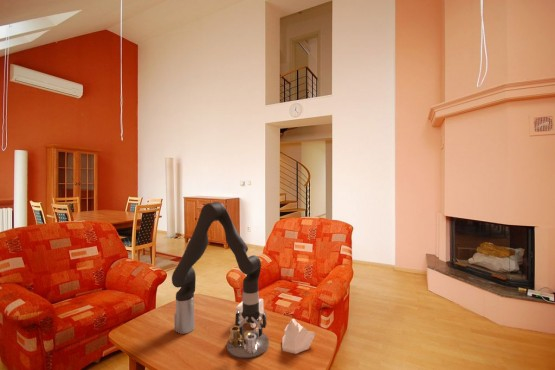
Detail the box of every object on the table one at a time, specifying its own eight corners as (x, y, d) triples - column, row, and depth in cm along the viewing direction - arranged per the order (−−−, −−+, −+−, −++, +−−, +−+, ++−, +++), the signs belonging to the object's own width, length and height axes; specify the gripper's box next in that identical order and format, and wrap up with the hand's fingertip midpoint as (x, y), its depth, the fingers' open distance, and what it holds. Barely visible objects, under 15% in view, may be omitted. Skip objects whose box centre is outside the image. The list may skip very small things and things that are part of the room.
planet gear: (242, 353, 118) (242, 340, 118) (246, 344, 124) (246, 332, 124) (256, 354, 117) (256, 341, 117) (259, 345, 123) (259, 333, 123)
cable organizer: (252, 331, 138) (252, 309, 138) (235, 327, 141) (234, 306, 141) (264, 317, 152) (263, 297, 152) (247, 314, 155) (247, 295, 155)
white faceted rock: (306, 361, 117) (300, 334, 114) (277, 353, 124) (271, 328, 121) (315, 339, 127) (310, 314, 124) (288, 333, 134) (282, 309, 132)
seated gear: (229, 345, 123) (228, 333, 123) (228, 338, 129) (228, 326, 129) (242, 343, 125) (242, 331, 125) (241, 336, 131) (241, 324, 131)
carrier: (220, 356, 118) (220, 344, 118) (234, 331, 138) (234, 321, 137) (264, 360, 115) (264, 348, 115) (271, 334, 135) (271, 323, 135)
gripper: (233, 303, 117) (233, 338, 118) (264, 305, 115) (264, 341, 116) (238, 295, 125) (238, 329, 125) (267, 297, 123) (267, 331, 123)
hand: (250, 335), depth 120 cm, fingers open, 8 cm apart
